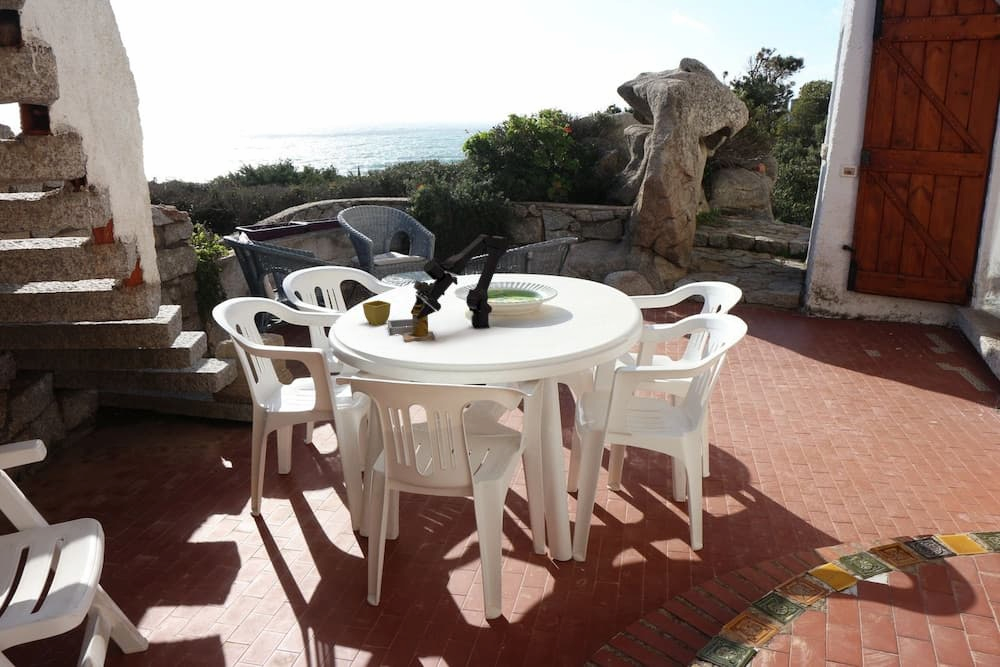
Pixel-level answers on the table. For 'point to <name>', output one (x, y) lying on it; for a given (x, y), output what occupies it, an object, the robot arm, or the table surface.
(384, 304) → the flower pot
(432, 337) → the walnut board
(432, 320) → the table surface
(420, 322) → the condiment
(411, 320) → the parts tub
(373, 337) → the table surface
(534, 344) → the table surface
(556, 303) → the table surface
